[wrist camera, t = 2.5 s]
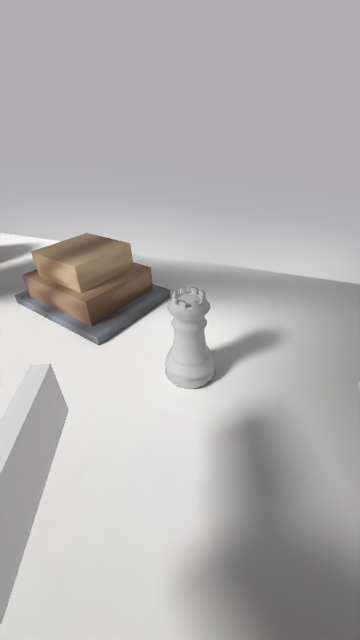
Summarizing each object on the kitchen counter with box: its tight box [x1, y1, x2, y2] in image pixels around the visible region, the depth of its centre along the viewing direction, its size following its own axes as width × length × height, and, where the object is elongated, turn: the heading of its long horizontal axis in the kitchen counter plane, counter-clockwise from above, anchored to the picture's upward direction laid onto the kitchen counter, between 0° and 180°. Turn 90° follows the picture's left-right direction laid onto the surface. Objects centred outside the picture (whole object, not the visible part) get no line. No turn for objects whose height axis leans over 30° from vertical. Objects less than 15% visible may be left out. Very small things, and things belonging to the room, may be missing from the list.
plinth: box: [15, 233, 170, 345], centre depth 35 cm, size 16×12×7 cm
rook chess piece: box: [165, 287, 215, 389], centre depth 24 cm, size 4×4×8 cm
